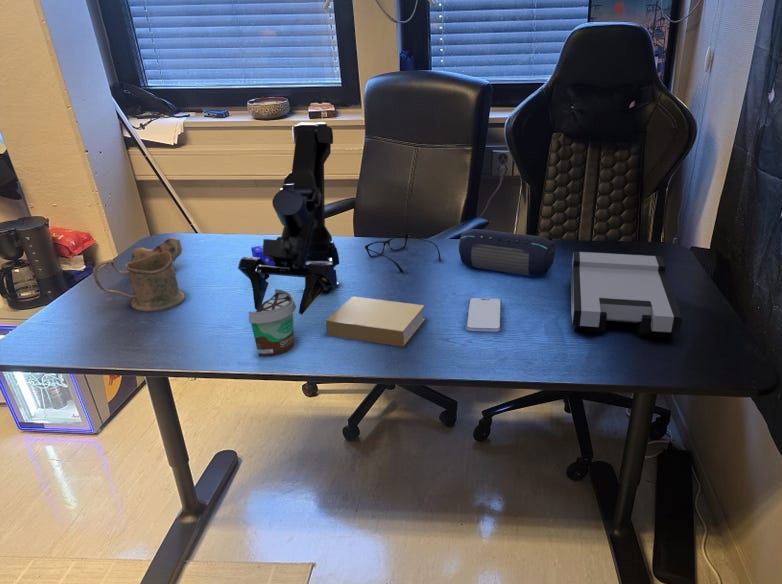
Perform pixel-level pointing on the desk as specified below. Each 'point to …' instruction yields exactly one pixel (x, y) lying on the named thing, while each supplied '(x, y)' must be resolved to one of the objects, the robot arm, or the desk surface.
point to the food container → (274, 325)
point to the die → (258, 253)
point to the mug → (150, 282)
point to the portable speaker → (506, 252)
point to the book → (375, 321)
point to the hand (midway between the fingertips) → (278, 311)
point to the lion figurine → (159, 250)
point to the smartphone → (484, 315)
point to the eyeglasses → (395, 250)
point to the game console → (622, 293)
